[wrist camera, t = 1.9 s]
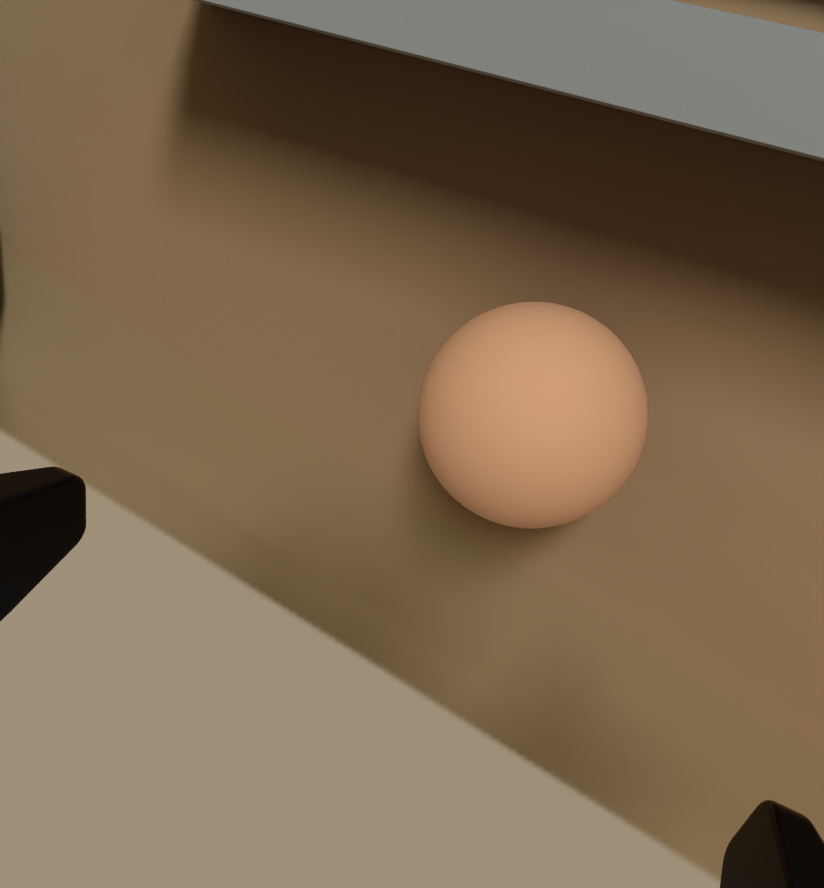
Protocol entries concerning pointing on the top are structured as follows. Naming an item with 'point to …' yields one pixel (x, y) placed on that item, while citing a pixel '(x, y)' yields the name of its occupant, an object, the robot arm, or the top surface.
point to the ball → (532, 415)
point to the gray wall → (604, 56)
